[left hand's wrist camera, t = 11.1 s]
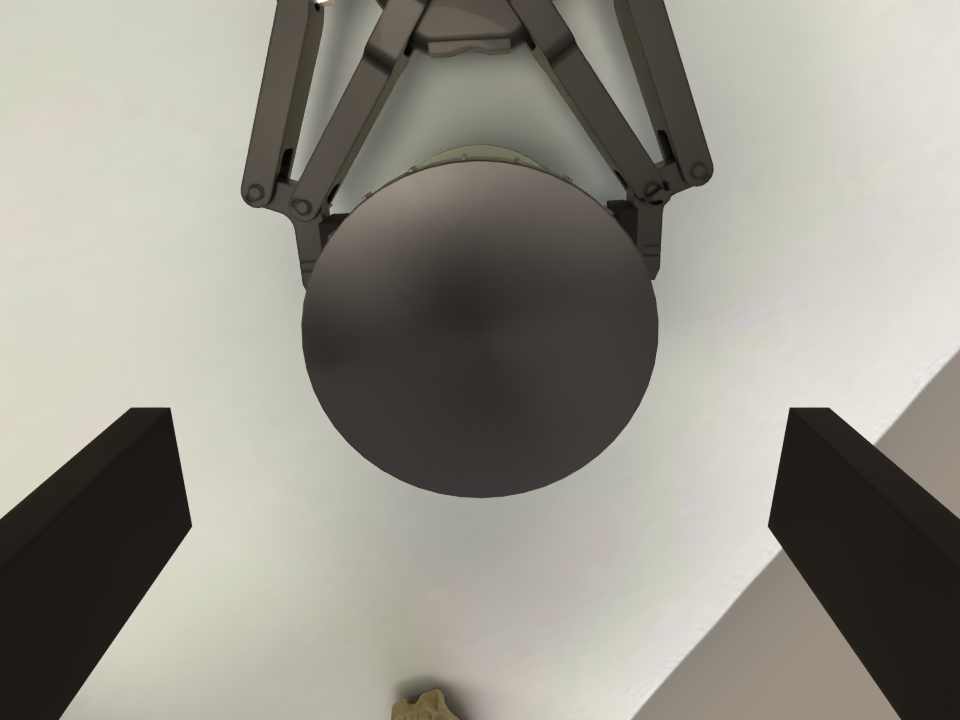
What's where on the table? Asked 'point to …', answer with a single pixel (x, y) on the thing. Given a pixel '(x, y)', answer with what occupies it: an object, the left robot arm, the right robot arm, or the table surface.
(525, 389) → the lid
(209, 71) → the table surface
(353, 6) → the table surface
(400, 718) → the sculpture
